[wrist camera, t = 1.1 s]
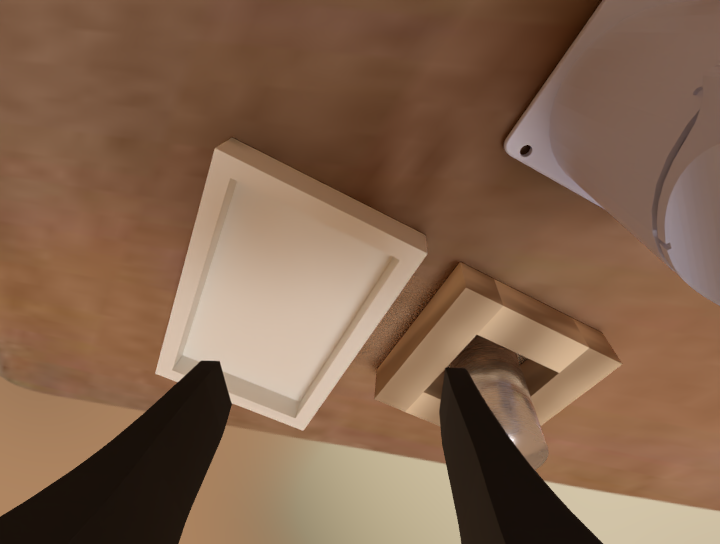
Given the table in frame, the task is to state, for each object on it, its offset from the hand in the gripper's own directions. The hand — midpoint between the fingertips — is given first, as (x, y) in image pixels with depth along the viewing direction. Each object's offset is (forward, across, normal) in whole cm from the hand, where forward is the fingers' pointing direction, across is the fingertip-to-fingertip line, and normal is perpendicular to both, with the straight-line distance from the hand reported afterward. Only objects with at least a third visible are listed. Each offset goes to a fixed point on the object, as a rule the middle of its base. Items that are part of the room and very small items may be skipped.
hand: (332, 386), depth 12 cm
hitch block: (+10, -8, +8) cm, 15 cm away
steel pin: (+10, -8, +8) cm, 15 cm away
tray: (+11, +5, +4) cm, 13 cm away
